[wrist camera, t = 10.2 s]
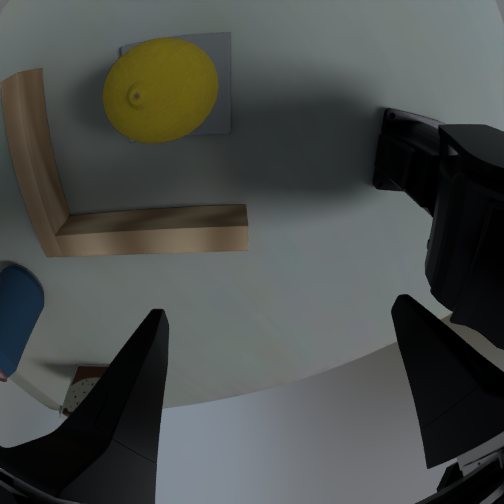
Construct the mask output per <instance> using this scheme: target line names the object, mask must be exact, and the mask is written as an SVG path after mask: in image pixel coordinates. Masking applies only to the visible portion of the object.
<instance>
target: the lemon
mask: <svg viewBox="0 0 504 504" xmlns="http://www.w3.org/2000/svg"><path fill="white" fill-rule="evenodd" d="M218 88H219V85H218V74H217V72H216V69H215V66H214V63H213V62H212V60H211V59H210V58H209V56H208V55H207V54H206V52H204V51H203V50H202V49H200V48H199V47H198V46H196V45H195V44H193V43H190V42H187V41H185V40H182V39H177V38H158V39H153V40H148V41H146V42H143V43H141V44H139V45H136V46H134V47H133V48H131V49H130V50H128V51H127V52H126V53H124V54H123V55H122V56H121V57H120V58H119V59H118V60H117V61H116V63H115V64H114V65H113V66H112V68H111V70H110V72H109V74H108V76H107V78H106V80H105V84H104V89H103V106H104V109H105V112H106V116H107V117H108V119H109V121H110V122H111V124H112V126H114V127H115V128H116V129H117V130H118V131H119V132H120V133H121V134H123V135H124V136H126V137H128V138H130V139H132V140H135V141H138V142H142V143H164V142H169V141H173V140H176V139H179V138H181V137H183V136H185V135H187V134H189V133H191V132H192V131H193V130H194V129H196V128H197V127H198V126H200V125H201V124H202V122H203V121H204V120H205V119H206V118H207V116H208V115H209V114H210V112H211V110H212V108H213V106H214V104H215V102H216V99H217V93H218Z"/></svg>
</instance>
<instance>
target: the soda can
mask: <svg viewBox="0 0 504 504" xmlns="http://www.w3.org/2000/svg"><path fill="white" fill-rule="evenodd" d="M43 307H44V290H43V287H42V285H41V283H40V281H39V280H38V279H37V277H36V276H35V275H34V274H33V273H32V272H31V271H29V270H28V269H27V268H25V267H23V266H20V265H13V266H10V267H7V268H4V269H3V270H2V271H1V273H0V381H2V382H6V381H7V378H8V377H9V376H10V375H12V374H13V373H14V372H15V371H16V369H17V366H18V364H19V361H20V359H21V356H22V353H23V351H24V349H25V346H26V344H27V342H28V339H29V337H30V335H31V332H32V330H33V328H34V326H35V324H36V322H37V320H38V318H39V315H40V313H41V311H42V309H43Z"/></svg>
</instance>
